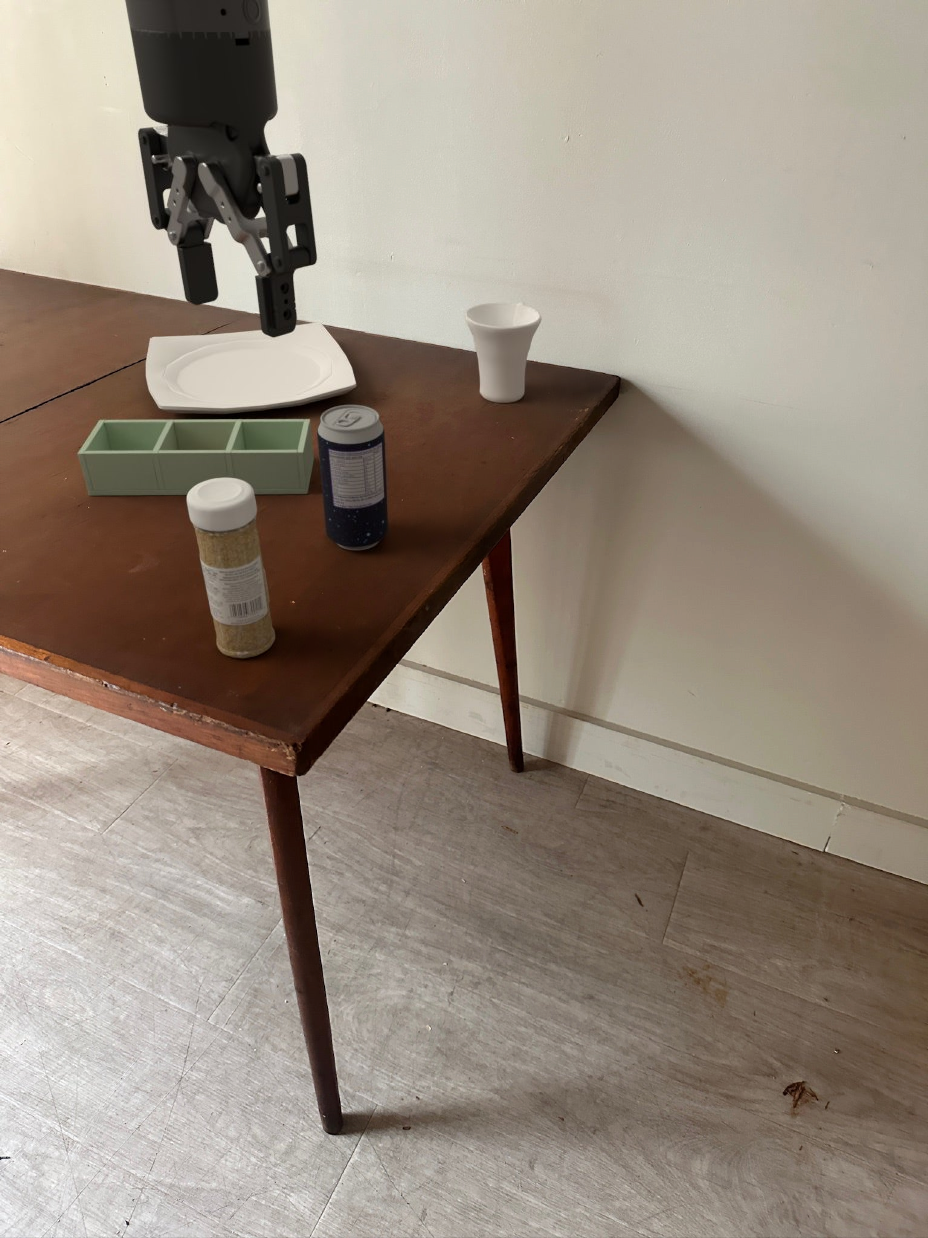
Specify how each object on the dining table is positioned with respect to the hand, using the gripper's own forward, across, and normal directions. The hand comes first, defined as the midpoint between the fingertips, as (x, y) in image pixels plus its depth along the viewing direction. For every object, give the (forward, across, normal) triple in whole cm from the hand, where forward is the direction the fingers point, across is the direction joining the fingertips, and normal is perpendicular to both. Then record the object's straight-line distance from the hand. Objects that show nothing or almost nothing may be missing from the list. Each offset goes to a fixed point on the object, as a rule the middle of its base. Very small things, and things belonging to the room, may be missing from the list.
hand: (240, 317), depth 57 cm
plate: (+24, -40, +26) cm, 53 cm away
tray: (+24, -23, +8) cm, 34 cm away
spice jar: (+24, +2, -5) cm, 24 cm away
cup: (+24, -15, +46) cm, 54 cm away
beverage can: (+24, -3, +11) cm, 26 cm away
